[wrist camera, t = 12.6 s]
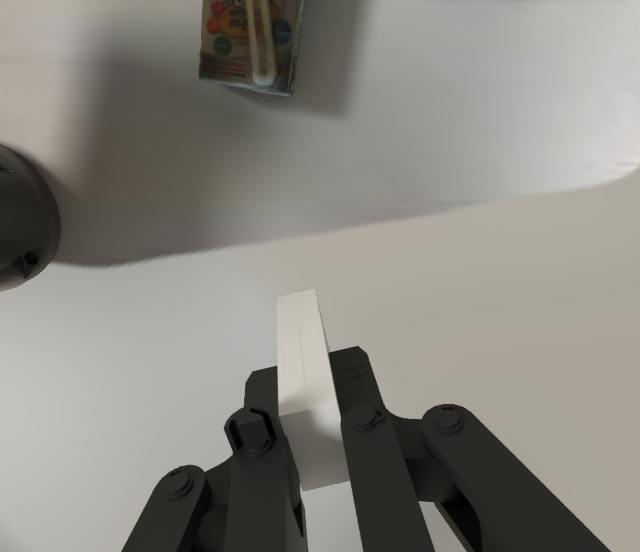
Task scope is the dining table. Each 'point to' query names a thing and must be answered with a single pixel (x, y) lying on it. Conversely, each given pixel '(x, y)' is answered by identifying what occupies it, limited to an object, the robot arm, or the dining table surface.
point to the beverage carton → (251, 44)
